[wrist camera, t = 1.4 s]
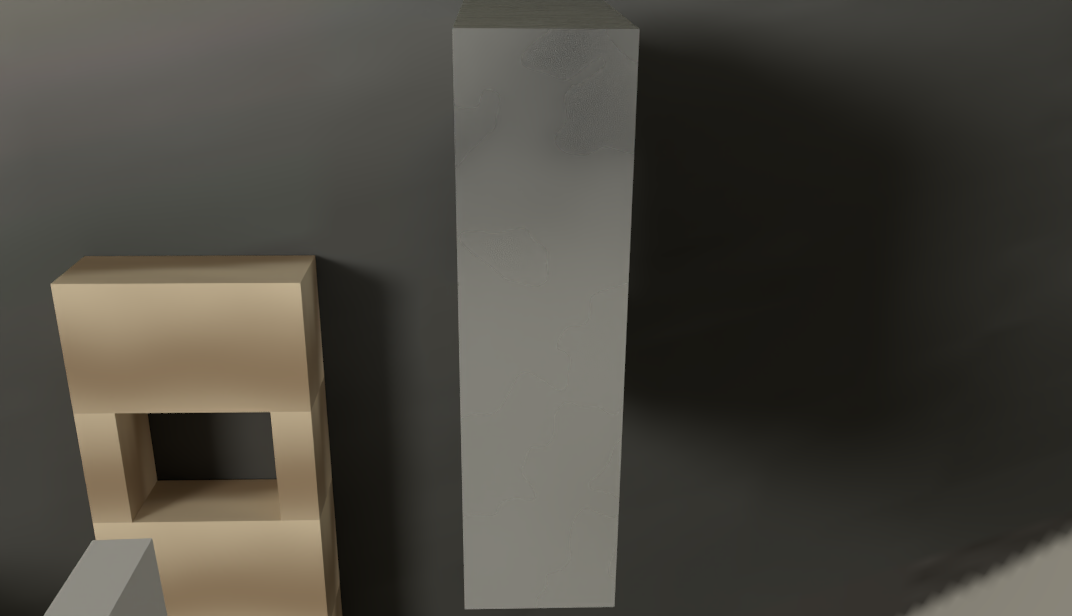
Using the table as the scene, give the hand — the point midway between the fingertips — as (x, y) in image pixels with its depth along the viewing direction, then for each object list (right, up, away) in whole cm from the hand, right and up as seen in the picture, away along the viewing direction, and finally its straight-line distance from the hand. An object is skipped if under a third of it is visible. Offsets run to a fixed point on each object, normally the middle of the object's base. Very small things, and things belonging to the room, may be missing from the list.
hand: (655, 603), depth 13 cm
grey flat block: (-2, +7, +17) cm, 19 cm away
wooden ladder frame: (-12, -4, +21) cm, 24 cm away
